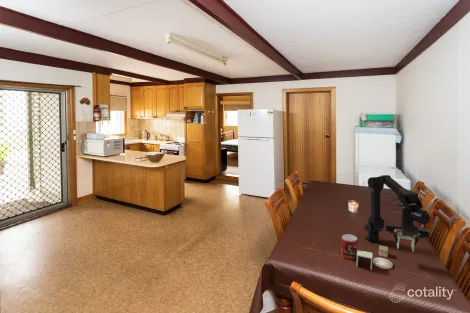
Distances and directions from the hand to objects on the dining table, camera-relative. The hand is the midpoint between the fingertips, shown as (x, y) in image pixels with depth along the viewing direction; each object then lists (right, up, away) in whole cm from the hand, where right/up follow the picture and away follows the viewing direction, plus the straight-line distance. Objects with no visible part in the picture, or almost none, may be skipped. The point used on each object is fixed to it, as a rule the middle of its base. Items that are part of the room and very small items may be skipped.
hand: (405, 245), depth 137 cm
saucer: (-12, -10, 0) cm, 15 cm away
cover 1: (-22, -10, -1) cm, 24 cm away
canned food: (-26, -9, +9) cm, 28 cm away
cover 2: (0, -1, 0) cm, 1 cm away
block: (-6, -8, +9) cm, 14 cm away
